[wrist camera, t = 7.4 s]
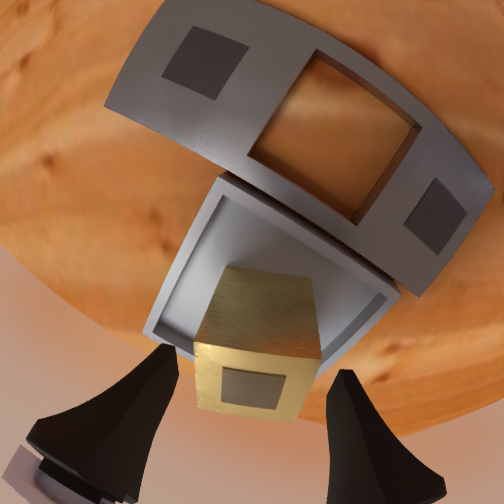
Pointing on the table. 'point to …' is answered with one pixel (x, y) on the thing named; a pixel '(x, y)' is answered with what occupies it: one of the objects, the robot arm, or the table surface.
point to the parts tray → (267, 270)
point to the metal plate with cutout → (265, 106)
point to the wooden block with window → (257, 345)
